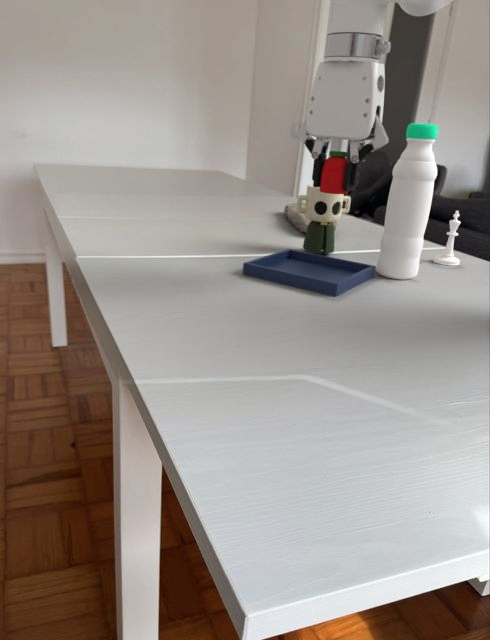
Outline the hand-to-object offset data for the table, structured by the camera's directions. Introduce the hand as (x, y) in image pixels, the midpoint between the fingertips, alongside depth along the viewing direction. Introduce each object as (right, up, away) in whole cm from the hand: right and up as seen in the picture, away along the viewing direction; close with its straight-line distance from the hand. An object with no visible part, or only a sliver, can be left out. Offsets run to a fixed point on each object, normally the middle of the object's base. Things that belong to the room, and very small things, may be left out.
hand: (334, 187), depth 83 cm
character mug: (+3, -5, +28) cm, 29 cm away
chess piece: (+28, -8, +25) cm, 38 cm away
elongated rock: (+5, +7, +56) cm, 57 cm away
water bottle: (+14, -12, +15) cm, 23 cm away
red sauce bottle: (0, -1, 0) cm, 1 cm away
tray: (-2, -12, +12) cm, 17 cm away
